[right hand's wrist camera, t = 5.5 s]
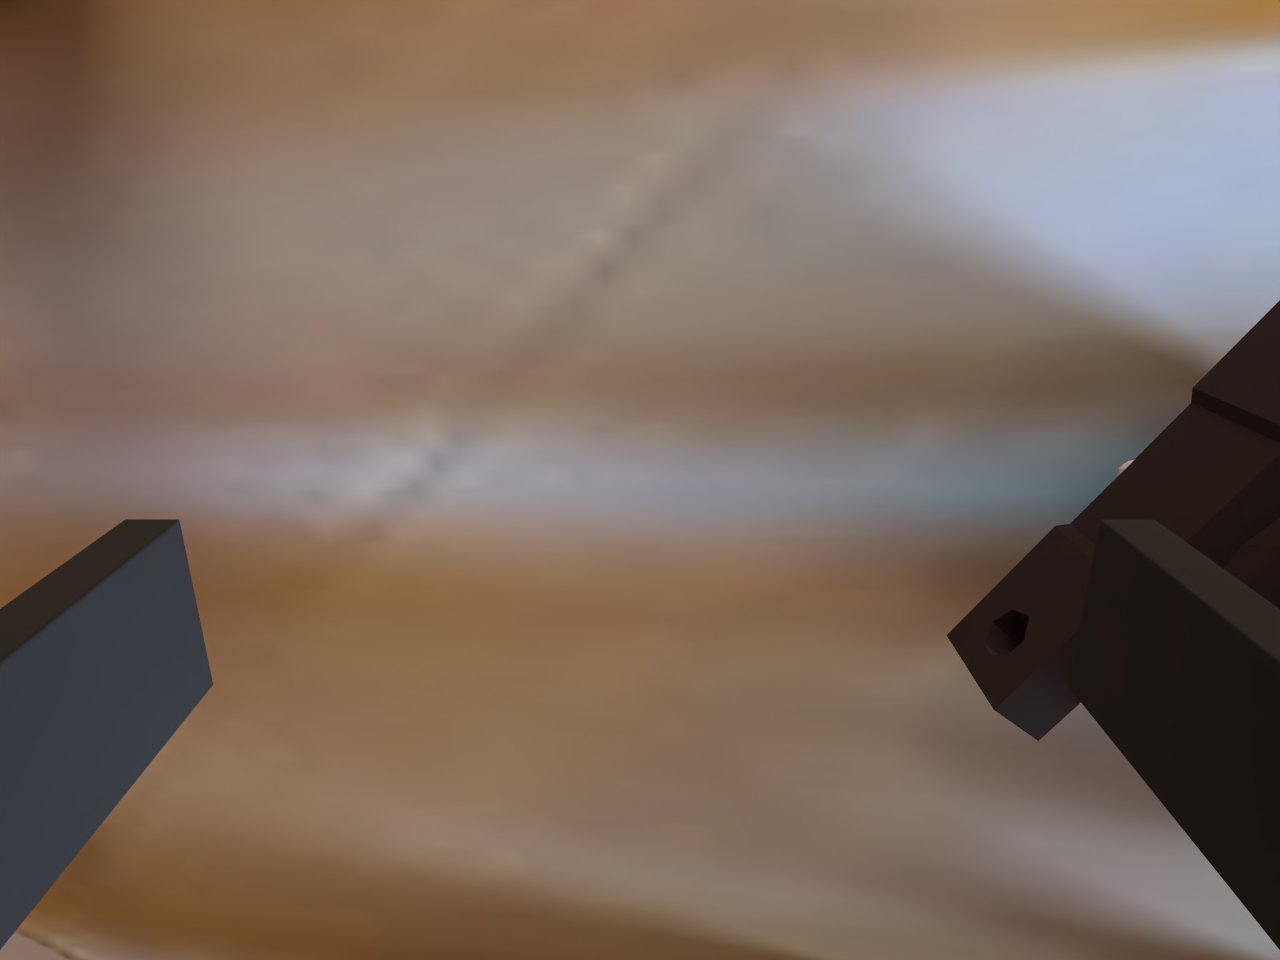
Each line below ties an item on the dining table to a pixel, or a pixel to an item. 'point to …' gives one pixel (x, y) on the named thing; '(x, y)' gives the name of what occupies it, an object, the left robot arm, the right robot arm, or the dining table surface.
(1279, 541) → the mechanical component
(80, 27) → the dining table surface
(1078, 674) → the right robot arm
